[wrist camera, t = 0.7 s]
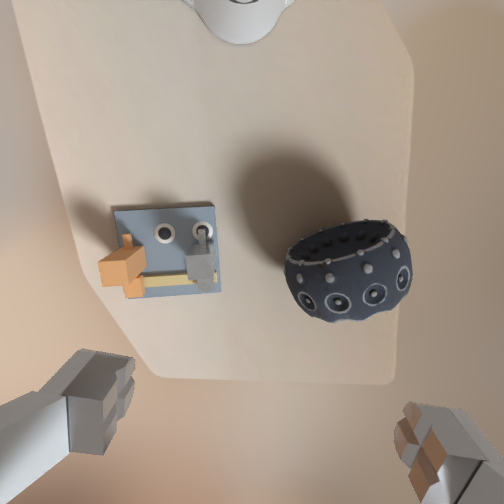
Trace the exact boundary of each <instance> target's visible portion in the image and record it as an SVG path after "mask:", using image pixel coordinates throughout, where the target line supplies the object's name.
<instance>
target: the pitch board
mask: <svg viewBox="0 0 504 504" xmlns="http://www.w3.org/2000/svg"><path fill="white" fill-rule="evenodd" d="M114 216H115V222H116V228H117V234H118V240H119V246H120V248H121V247H124V244H123V238H122V235H123V234H129V233H131V234H132V235H133V238H132V243H133V246H144V249H145V256H146V263H147V267H146V268H145V269H144V270H143V271H142V272H141V273H140V274H139V275H143V281H144V287H145V294H144V296H143V297H135V298H149V297H162V296H176V295H189V294H203V293H217V292H221V284H220V271H219V258H218V245H217V232H216V219H215V206H202V207H183V208H164V209H144V210H125V211H114ZM198 229H205V235H206V241H214V244H215V257H216V264H215V271H214V284H215V290H214V291H208V292H198V286H197V280H188V275H187V266H186V254H187V252H188V250H189V249H190V247H191V245H192V243H193V242H199V239H198ZM135 298H128V299H135Z"/></svg>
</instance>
